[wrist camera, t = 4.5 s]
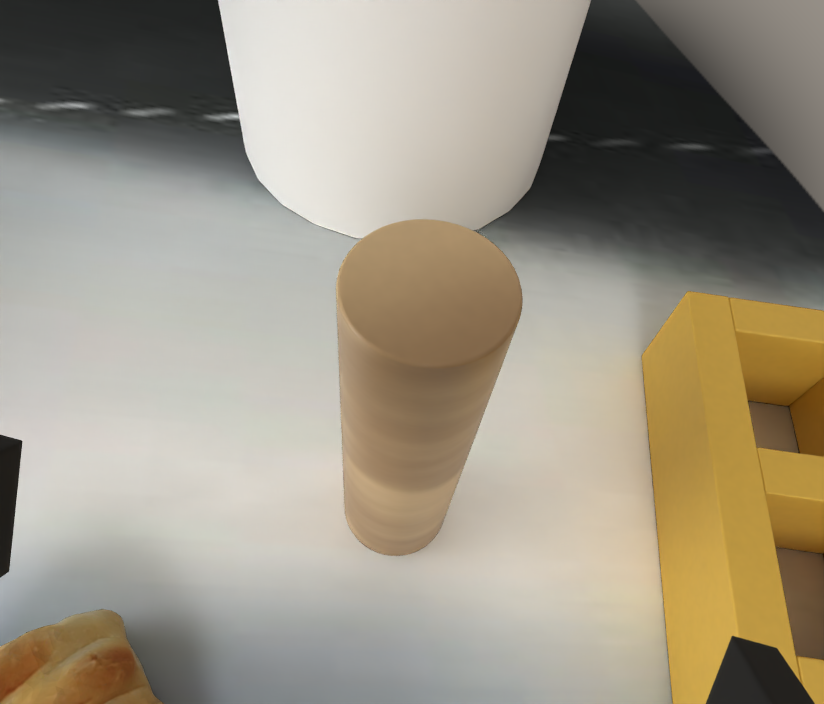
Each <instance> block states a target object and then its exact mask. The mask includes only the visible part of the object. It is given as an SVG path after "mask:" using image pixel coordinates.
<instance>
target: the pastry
mask: <svg viewBox="0 0 824 704" xmlns="http://www.w3.org/2000/svg"><path fill="white" fill-rule="evenodd" d="M0 704H164V703H163V702H161V701H160V700H159V699H157V698H156V697H155V696H154V695H153V693H152V690H151V687H150V685H149V682H148V680H147V677H146V676H145V674H144V670H143V667H142V665H141V663H140V661H139V659H138V657H137V656H136V654H135V652H134V651H133V649H132V648H131V646H130V644H129V642H128V640H127V638H126V632H125V626H124V622H123V620H122V618H121V616H119V615H118V614H117V613H115V612H113V611H110V610H104V609H100V610H95V611H90V612H85V613H81V614H75V615H72V616H69V617H67V618H65V619H63V620H62V621H60V622H59V623H57V624H54V625H49V626H44V627H41V628H38V629H35V630H32V631H29V632H26V633H25V634H24V635H22V636H19V637H18V638H17V639H15V640H13V641H11V642H8V643H6V644H4V645H2V646H1V647H0Z"/></svg>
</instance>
